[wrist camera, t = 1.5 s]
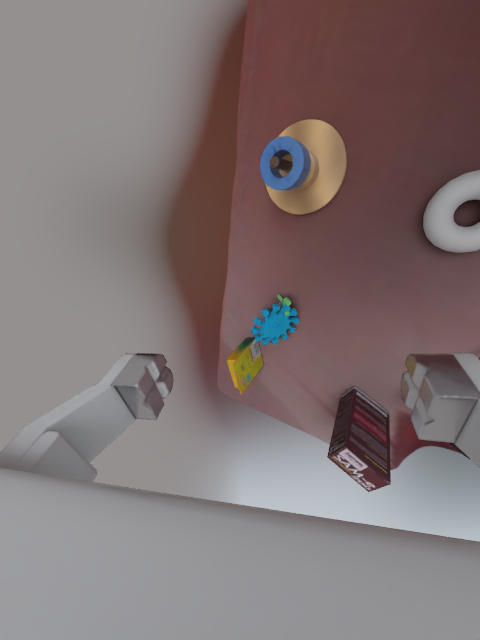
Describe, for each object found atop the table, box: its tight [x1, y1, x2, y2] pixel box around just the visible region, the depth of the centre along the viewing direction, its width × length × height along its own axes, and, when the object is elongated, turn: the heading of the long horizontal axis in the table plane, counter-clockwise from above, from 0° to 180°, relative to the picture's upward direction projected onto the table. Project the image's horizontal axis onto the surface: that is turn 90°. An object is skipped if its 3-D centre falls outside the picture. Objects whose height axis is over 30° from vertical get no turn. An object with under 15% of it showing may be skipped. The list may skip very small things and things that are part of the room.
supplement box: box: [327, 386, 390, 492], centre depth 47 cm, size 9×5×16 cm, turn 61°
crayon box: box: [226, 338, 264, 394], centre depth 56 cm, size 7×3×12 cm, turn 16°
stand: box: [266, 119, 348, 215], centre depth 36 cm, size 13×13×14 cm
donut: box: [423, 170, 480, 253], centre depth 33 cm, size 10×3×10 cm
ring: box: [260, 136, 311, 190], centre depth 34 cm, size 6×6×4 cm
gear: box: [251, 294, 299, 345], centre depth 52 cm, size 11×6×10 cm
